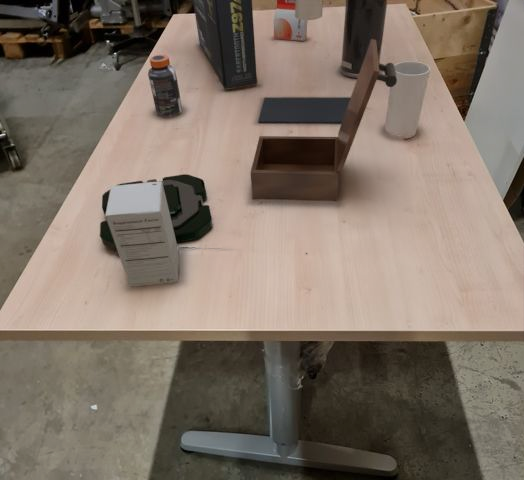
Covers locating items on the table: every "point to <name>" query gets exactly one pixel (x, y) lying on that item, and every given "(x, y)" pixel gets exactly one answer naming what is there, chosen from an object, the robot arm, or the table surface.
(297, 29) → the ink box
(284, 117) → the mat
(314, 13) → the canister
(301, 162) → the bread bin
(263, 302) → the table surface
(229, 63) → the box
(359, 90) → the bin lid
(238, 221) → the table surface
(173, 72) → the pill bottle
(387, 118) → the white cylindrical cup
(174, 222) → the clover-shaped pad
